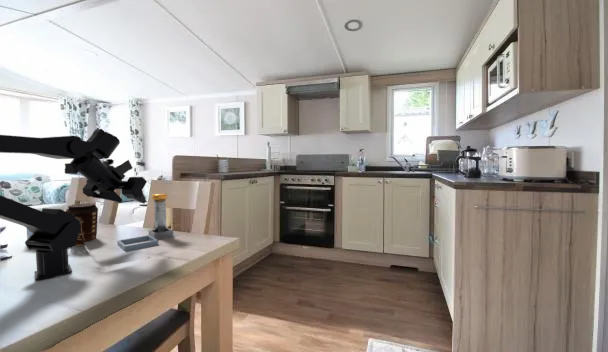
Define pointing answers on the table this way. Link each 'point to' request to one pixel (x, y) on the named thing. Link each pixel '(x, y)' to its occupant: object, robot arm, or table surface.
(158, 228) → the stop pin
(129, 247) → the tray
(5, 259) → the table surface
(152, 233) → the square socket base
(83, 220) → the coffee cup
